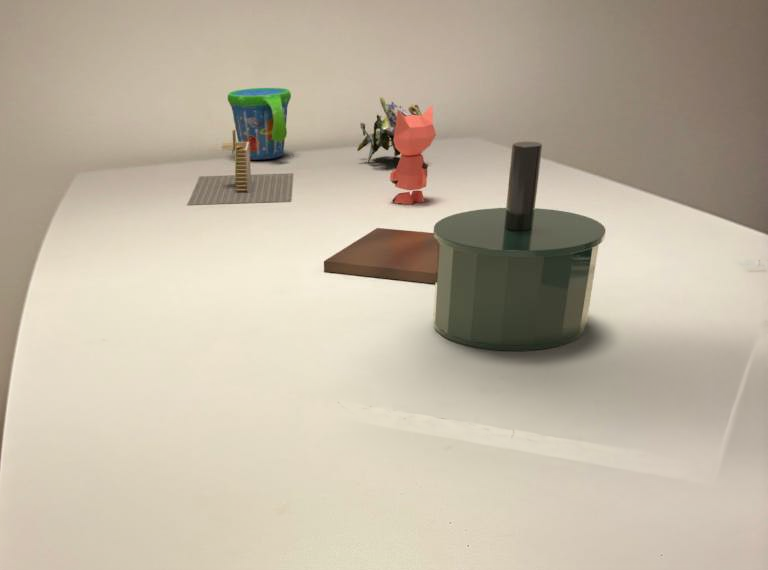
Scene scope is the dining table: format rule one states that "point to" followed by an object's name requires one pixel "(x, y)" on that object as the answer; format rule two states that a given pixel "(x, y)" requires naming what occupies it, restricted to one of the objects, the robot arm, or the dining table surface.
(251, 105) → the snack cup
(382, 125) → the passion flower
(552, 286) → the pot
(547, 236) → the lid
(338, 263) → the board
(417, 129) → the cat figurine
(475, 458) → the dining table surface
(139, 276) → the dining table surface
